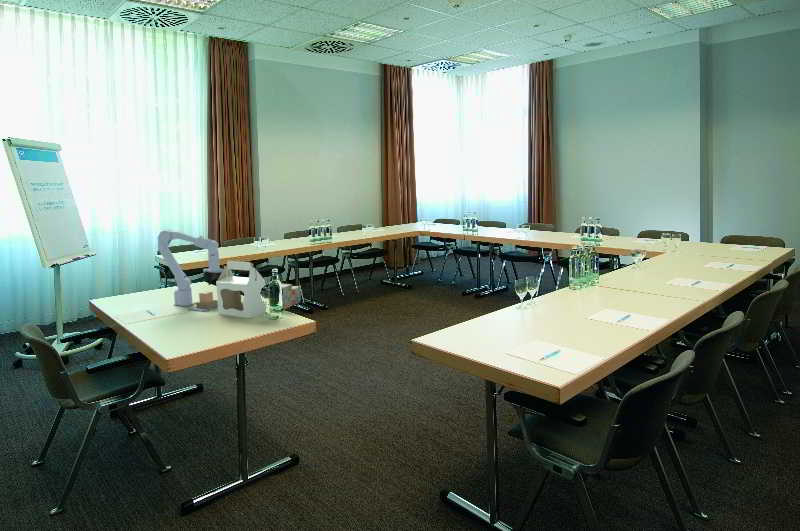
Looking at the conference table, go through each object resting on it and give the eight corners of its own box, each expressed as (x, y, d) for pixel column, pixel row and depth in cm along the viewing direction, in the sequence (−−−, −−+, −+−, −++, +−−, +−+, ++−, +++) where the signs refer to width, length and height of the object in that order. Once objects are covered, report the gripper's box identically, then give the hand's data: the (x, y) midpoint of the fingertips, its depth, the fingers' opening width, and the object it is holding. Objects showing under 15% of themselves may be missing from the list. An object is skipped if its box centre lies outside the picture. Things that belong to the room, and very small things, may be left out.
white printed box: (291, 301, 311) (290, 280, 309) (301, 302, 309) (300, 281, 307) (271, 310, 291) (270, 287, 289) (281, 310, 289) (280, 288, 287)
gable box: (267, 312, 286) (264, 260, 281) (250, 318, 274) (246, 264, 270) (236, 308, 296) (232, 258, 291) (218, 314, 284) (213, 262, 280)
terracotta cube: (199, 301, 298) (199, 293, 297) (206, 300, 303) (205, 291, 302) (206, 302, 296) (205, 293, 295) (213, 300, 301) (212, 291, 300)
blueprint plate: (188, 310, 295) (187, 303, 295) (209, 303, 310) (209, 297, 309) (204, 311, 290) (204, 305, 290) (225, 305, 305) (225, 298, 304)
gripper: (198, 262, 307) (200, 285, 309) (220, 263, 303) (221, 286, 305) (206, 260, 314) (208, 283, 316) (227, 261, 309) (229, 284, 311)
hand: (215, 284), depth 311 cm, fingers open, 7 cm apart
